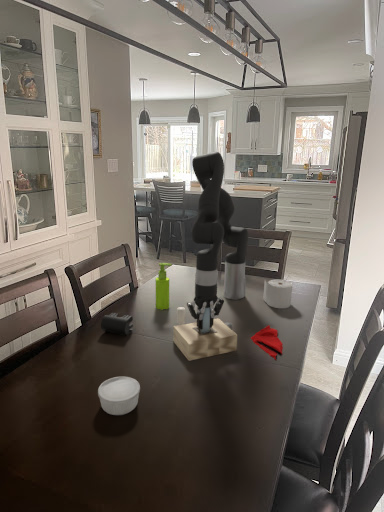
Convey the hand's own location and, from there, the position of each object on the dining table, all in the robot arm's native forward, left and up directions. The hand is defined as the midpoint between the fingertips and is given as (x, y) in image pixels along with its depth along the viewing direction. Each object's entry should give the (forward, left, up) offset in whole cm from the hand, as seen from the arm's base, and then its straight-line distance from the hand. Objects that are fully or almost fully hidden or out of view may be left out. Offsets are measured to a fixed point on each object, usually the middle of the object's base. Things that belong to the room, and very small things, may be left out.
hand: (204, 327), depth 133 cm
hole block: (0, 0, -7) cm, 7 cm away
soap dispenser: (+2, -37, -7) cm, 38 cm away
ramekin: (+35, +20, -7) cm, 41 cm away
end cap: (+26, -21, -7) cm, 34 cm away
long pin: (0, 0, -4) cm, 4 cm away
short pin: (-11, -3, -7) cm, 13 cm away
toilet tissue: (-47, -22, -7) cm, 52 cm away
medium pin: (+2, -17, -7) cm, 19 cm away
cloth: (-24, +5, -8) cm, 26 cm away
